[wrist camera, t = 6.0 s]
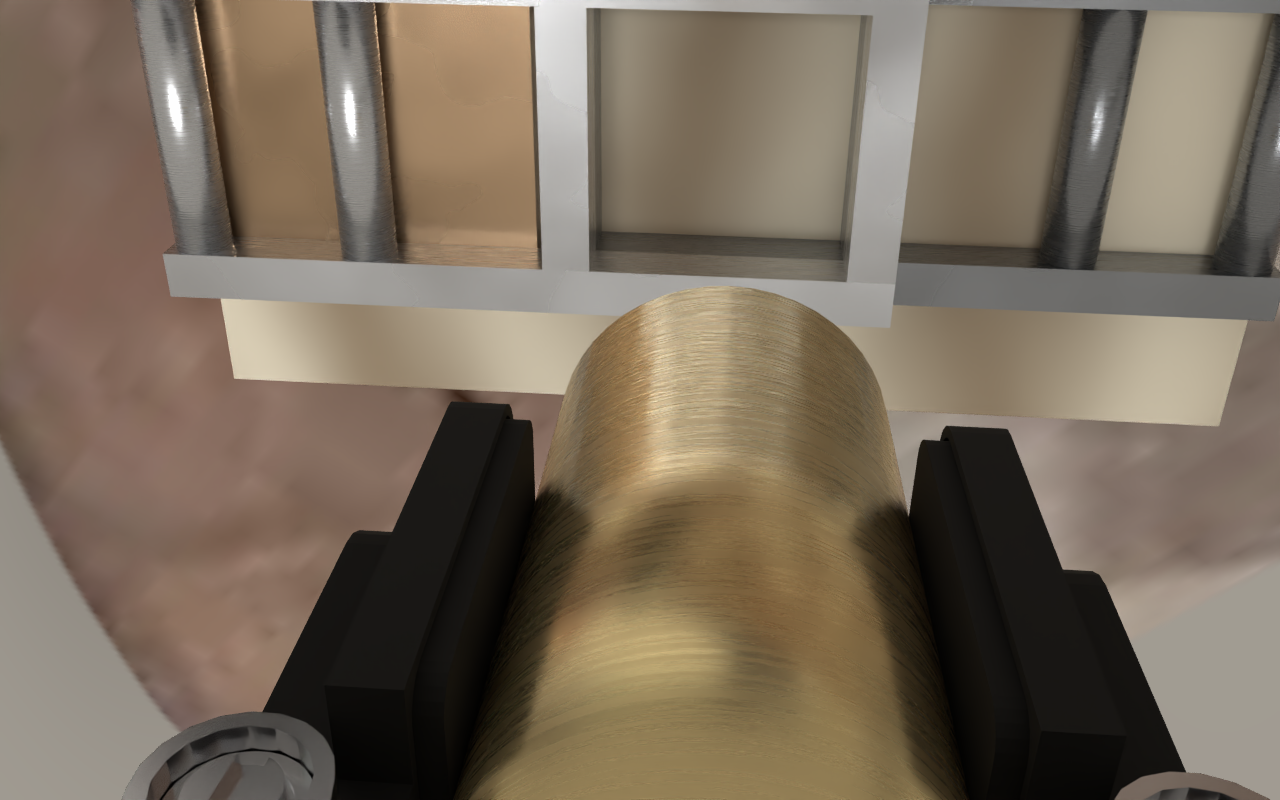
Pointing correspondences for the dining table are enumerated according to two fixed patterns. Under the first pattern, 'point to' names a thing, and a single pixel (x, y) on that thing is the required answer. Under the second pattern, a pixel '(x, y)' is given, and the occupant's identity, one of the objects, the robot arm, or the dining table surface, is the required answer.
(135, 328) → the dining table surface
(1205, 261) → the grey frame
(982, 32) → the birch board
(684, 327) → the brass pin
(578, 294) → the grey flat barred piece
